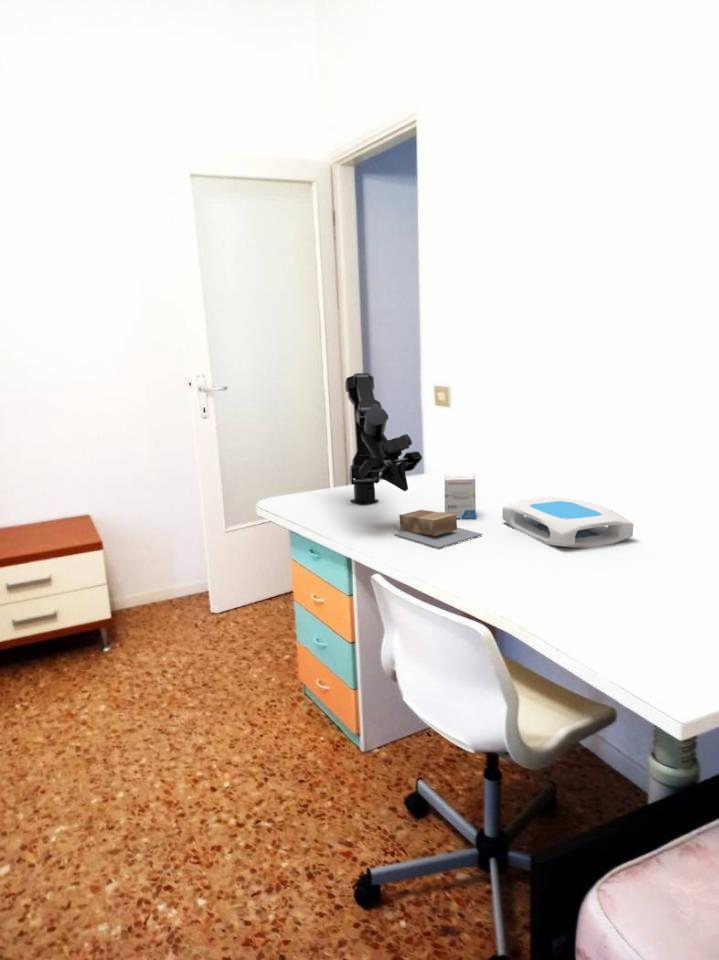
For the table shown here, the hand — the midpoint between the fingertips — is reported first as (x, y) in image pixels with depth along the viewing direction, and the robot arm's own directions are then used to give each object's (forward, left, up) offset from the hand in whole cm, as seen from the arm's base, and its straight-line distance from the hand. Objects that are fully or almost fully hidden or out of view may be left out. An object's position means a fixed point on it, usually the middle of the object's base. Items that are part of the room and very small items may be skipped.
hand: (406, 490), depth 182 cm
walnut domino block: (-1, +3, -9) cm, 9 cm away
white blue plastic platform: (+29, +29, -12) cm, 42 cm away
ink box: (-1, +22, -11) cm, 24 cm away
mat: (+9, +3, -11) cm, 15 cm away
